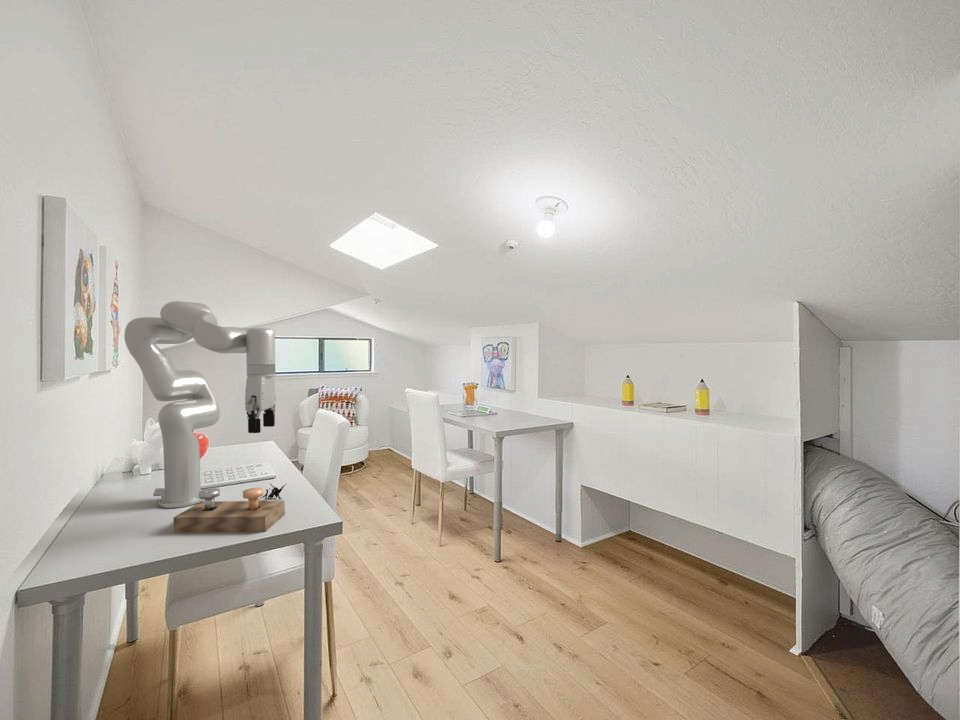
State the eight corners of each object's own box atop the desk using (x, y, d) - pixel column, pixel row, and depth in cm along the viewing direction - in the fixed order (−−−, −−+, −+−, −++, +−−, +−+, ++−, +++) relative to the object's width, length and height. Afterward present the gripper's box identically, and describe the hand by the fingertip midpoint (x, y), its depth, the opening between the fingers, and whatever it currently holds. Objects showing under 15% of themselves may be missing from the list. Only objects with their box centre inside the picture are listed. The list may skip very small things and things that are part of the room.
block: (173, 532, 119) (173, 517, 119) (201, 515, 131) (201, 501, 131) (265, 531, 120) (265, 516, 119) (284, 514, 132) (284, 500, 131)
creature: (276, 509, 139) (291, 495, 147) (273, 493, 138) (288, 480, 145) (253, 507, 141) (269, 494, 148) (250, 492, 139) (267, 479, 147)
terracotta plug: (239, 513, 123) (239, 493, 123) (249, 506, 128) (248, 487, 128) (258, 513, 123) (257, 493, 123) (266, 506, 128) (266, 487, 128)
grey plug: (195, 513, 123) (194, 494, 123) (206, 507, 128) (205, 488, 128) (213, 513, 123) (213, 493, 123) (224, 507, 128) (223, 488, 128)
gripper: (261, 369, 140) (261, 424, 141) (233, 372, 123) (234, 435, 124) (285, 369, 141) (286, 424, 141) (261, 372, 123) (262, 435, 124)
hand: (262, 429), depth 132 cm, fingers open, 9 cm apart
